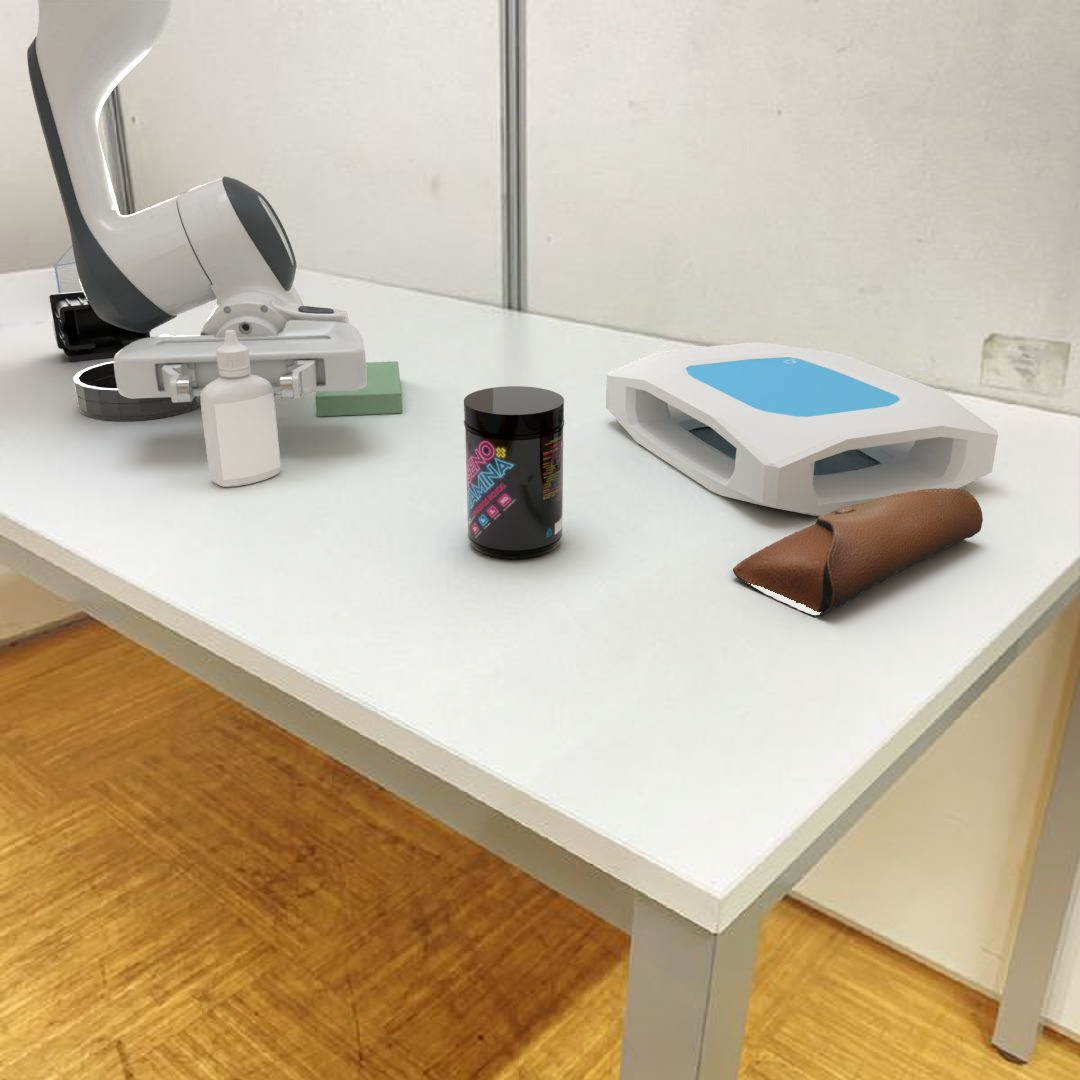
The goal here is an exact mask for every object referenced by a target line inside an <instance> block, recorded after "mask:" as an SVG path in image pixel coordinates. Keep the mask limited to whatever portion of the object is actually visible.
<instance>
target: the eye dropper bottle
mask: <svg viewBox="0 0 1080 1080" xmlns="http://www.w3.org/2000/svg"><path fill="white" fill-rule="evenodd" d="M216 355H217V363H218V372H219V375H220V377H219V378H218V379H216V380H214V381H212V382H211V383H209V384H208V385H207V386H205V388H204V389H203V390H202V391H201V394H200V401H201V406H200V411H201V419H202V427H203V436H204V443H205V453H206V459H207V460H206V461H207V469H208V475H209V478H210V480H211V481H212V482H213V483H214V484H216V485H218V486H220V487H223V488H232V487H233V488H234V487H241V486H246V485H251V484H255V483H259V482H262V481H265V480H268V479H271V478H273V477H275V476H277V475H279V473H280V472H281V470H282V461H281V450H280V440H279V430H278V420H277V411H276V410H277V409H276V400H275V396H274V392H273V388H272V385H271V384H270V382H269V381H267V380H266V379H264V378H262V377H259V376H256V375H250V373H251V370H250V360H249V351H248V348H247V347H246V346H244V345H241V344H240V343H239V342H238V339H237V336H236V333H235V330H227V331H225V342H224V344H223V346H221V347H219V348H217V350H216Z"/></svg>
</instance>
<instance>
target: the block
mask: <svg viewBox="0 0 1080 1080" xmlns="http://www.w3.org/2000/svg"><path fill="white" fill-rule="evenodd" d="M366 372H367V386H366V387H365V388H363V389H360V390H355V391H326V392H315V406H316V417H338V416H339V417H342V416H364V415H365V416H366V415H391V414H403V401H402V400H403V398H402V397H403V396H402V388H401V387H402V385H401V377H400V365H399V361H373V362H371V361H370V362H368V361H366Z"/></svg>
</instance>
